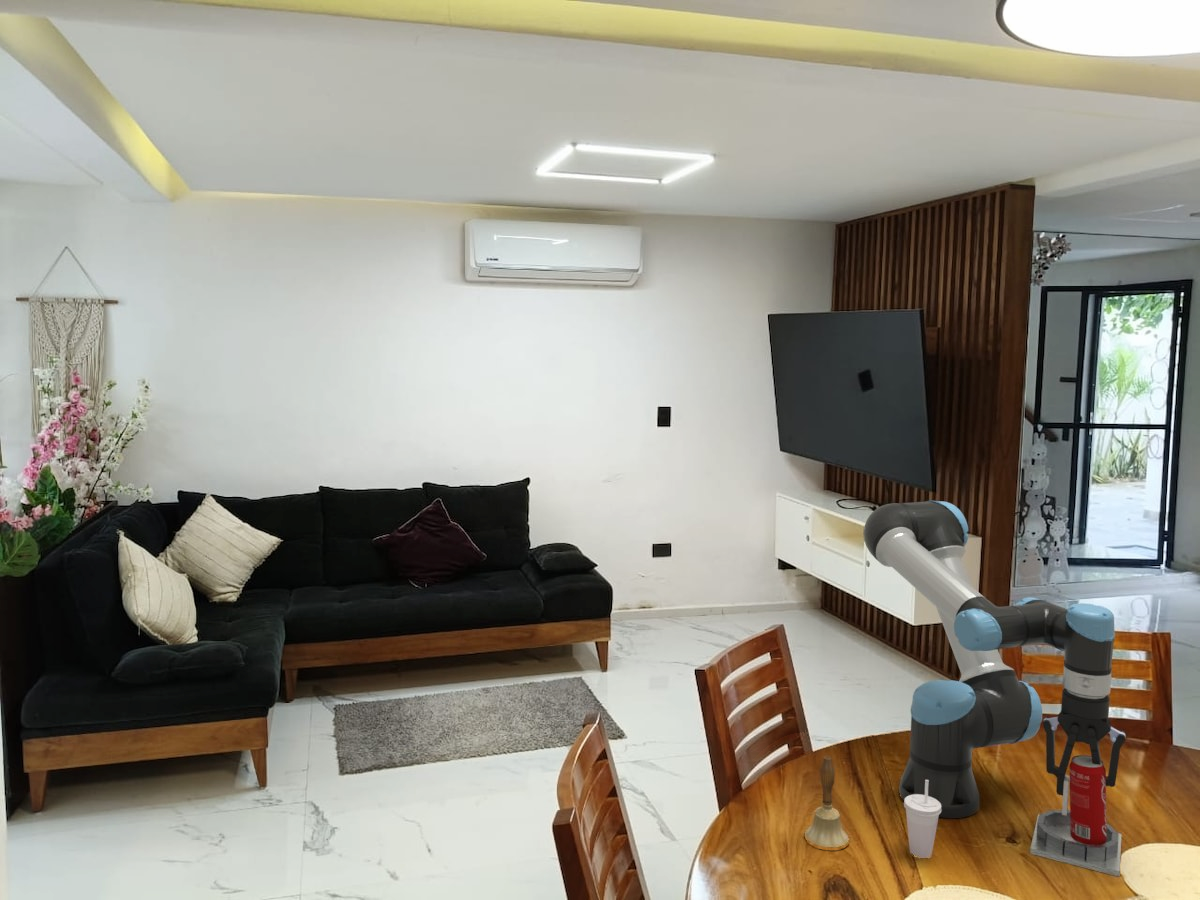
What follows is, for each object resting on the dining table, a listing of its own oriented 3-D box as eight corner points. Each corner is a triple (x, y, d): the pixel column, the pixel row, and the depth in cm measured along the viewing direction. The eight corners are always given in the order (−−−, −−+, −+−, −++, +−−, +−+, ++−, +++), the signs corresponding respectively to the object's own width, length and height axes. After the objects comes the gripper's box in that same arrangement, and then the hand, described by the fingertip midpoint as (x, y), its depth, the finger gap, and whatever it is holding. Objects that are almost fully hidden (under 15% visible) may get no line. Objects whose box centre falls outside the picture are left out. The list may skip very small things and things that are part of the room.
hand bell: (824, 856, 163) (827, 771, 161) (794, 834, 170) (796, 753, 168) (859, 844, 166) (862, 761, 165) (828, 823, 174) (830, 744, 172)
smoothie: (935, 867, 159) (938, 791, 157) (897, 856, 162) (900, 782, 161) (942, 850, 164) (946, 776, 163) (906, 840, 168) (909, 768, 166)
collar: (1030, 853, 163) (1031, 835, 163) (1037, 819, 175) (1038, 801, 175) (1119, 876, 156) (1120, 857, 156) (1121, 839, 168) (1122, 821, 168)
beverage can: (1107, 852, 160) (1113, 771, 158) (1066, 843, 163) (1071, 764, 161) (1104, 835, 166) (1109, 757, 164) (1064, 827, 168) (1069, 750, 166)
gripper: (1032, 689, 163) (1025, 812, 166) (1139, 708, 155) (1130, 837, 158) (1036, 676, 170) (1029, 794, 172) (1140, 693, 161) (1131, 818, 164)
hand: (1078, 814), depth 165 cm, fingers closed on beverage can, 4 cm apart
